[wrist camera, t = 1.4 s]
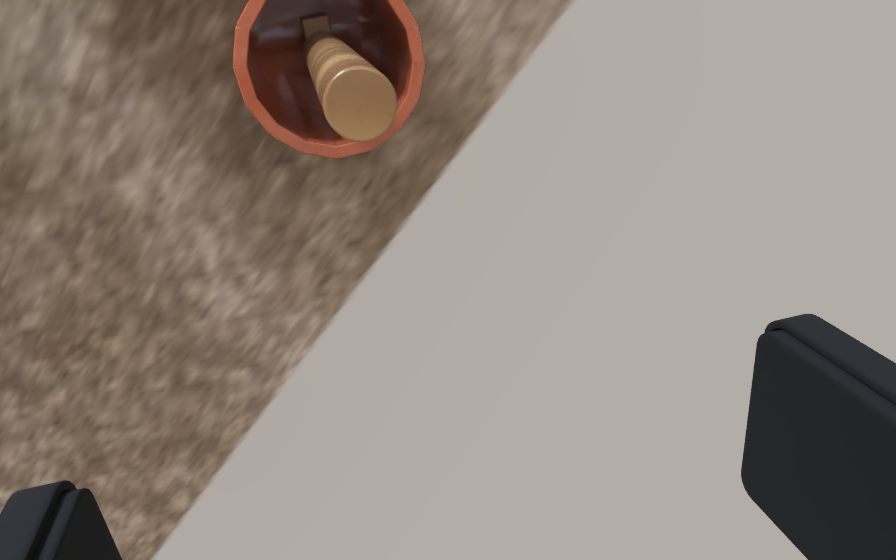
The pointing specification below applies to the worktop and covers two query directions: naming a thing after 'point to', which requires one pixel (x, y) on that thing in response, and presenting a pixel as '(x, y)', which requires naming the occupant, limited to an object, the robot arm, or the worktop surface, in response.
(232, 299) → the worktop surface
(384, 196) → the worktop surface
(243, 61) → the crock
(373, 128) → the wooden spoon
